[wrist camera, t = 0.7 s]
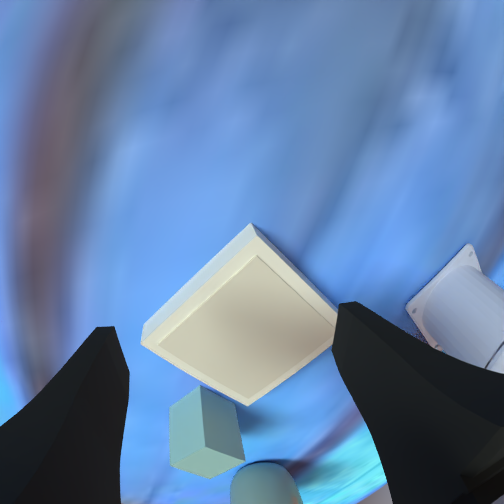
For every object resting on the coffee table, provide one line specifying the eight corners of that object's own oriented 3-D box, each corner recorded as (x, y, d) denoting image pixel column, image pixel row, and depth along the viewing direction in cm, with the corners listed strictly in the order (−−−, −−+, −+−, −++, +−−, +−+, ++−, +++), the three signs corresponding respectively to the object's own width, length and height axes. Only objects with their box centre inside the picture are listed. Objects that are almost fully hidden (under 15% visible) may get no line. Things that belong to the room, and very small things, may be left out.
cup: (241, 452, 30) (258, 533, 21) (301, 455, 32) (325, 526, 23) (215, 480, 32) (226, 549, 23) (271, 482, 35) (287, 545, 26)
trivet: (338, 308, 24) (352, 329, 21) (242, 383, 26) (247, 407, 23) (249, 219, 20) (257, 236, 17) (144, 320, 21) (140, 345, 19)
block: (234, 403, 26) (245, 461, 21) (203, 423, 27) (209, 478, 21) (199, 384, 24) (205, 446, 19) (169, 407, 25) (169, 465, 20)
